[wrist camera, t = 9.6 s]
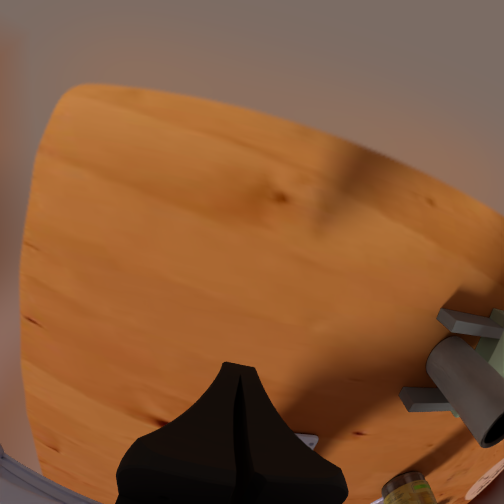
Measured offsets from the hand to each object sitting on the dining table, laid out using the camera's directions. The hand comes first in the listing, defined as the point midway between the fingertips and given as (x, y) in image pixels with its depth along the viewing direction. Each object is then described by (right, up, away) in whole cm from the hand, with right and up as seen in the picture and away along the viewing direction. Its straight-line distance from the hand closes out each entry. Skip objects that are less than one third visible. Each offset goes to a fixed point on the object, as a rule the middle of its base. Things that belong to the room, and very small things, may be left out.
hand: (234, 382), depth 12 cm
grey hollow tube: (+18, -4, +11) cm, 22 cm away
